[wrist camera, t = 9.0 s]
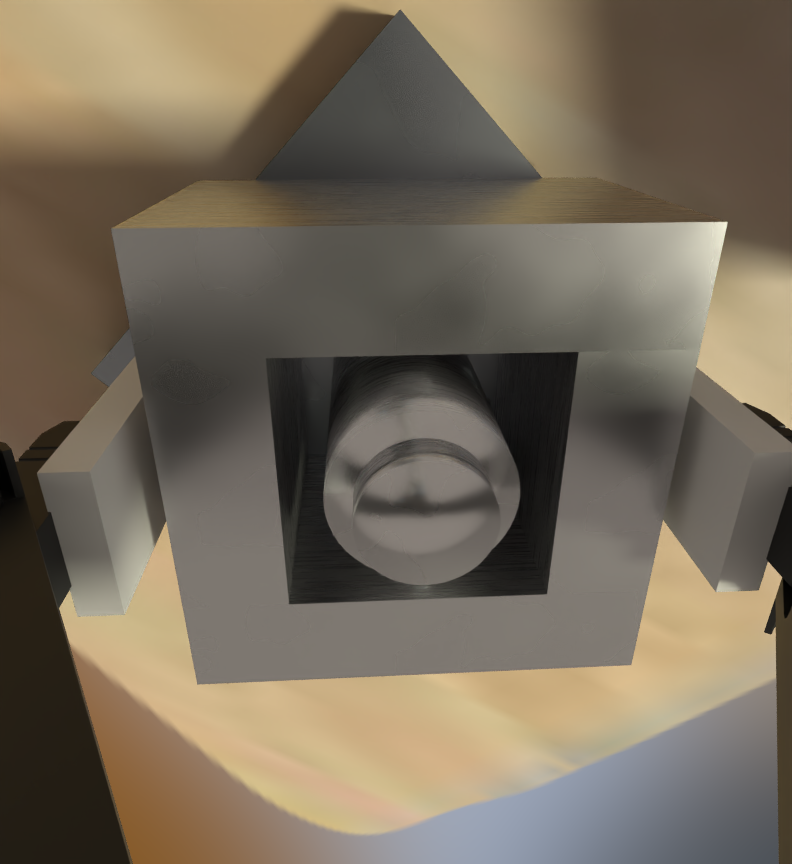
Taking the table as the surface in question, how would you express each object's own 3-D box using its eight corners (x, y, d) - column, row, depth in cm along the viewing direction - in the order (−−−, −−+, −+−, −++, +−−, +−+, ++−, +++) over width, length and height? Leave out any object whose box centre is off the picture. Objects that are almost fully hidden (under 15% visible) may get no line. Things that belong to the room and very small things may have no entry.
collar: (241, 517, 19) (197, 684, 13) (198, 180, 15) (111, 228, 9) (554, 507, 19) (631, 664, 14) (596, 177, 15) (727, 221, 10)
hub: (106, 356, 18) (-70, 543, 10) (396, 15, 15) (440, -67, 7) (397, 576, 22) (419, 826, 14) (676, 344, 18) (890, 510, 11)
